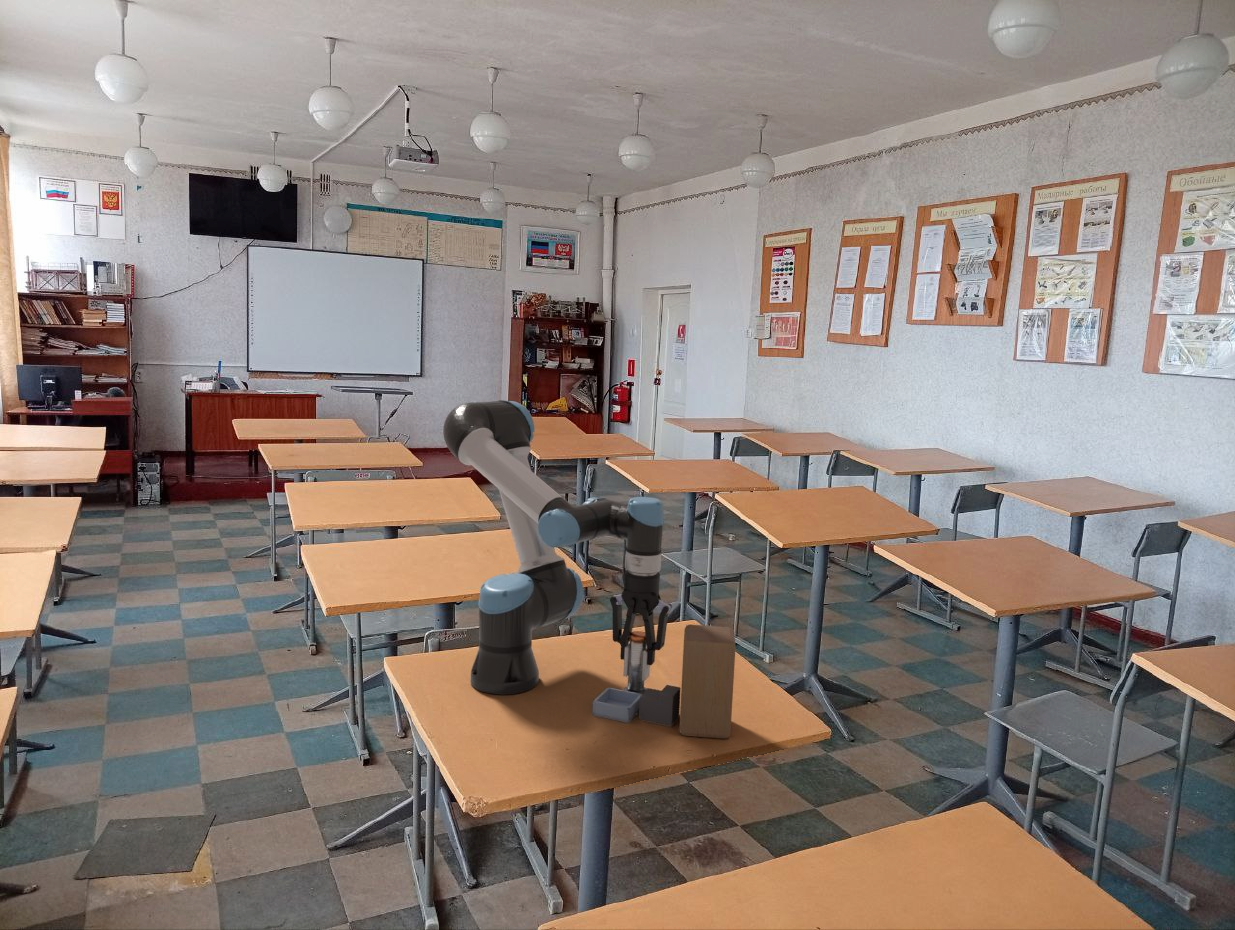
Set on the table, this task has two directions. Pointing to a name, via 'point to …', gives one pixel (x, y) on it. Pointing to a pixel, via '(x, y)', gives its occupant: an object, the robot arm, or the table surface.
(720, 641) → the block
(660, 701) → the dark grey stepped piece
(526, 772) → the table surface
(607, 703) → the tray
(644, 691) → the socket
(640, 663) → the pin
